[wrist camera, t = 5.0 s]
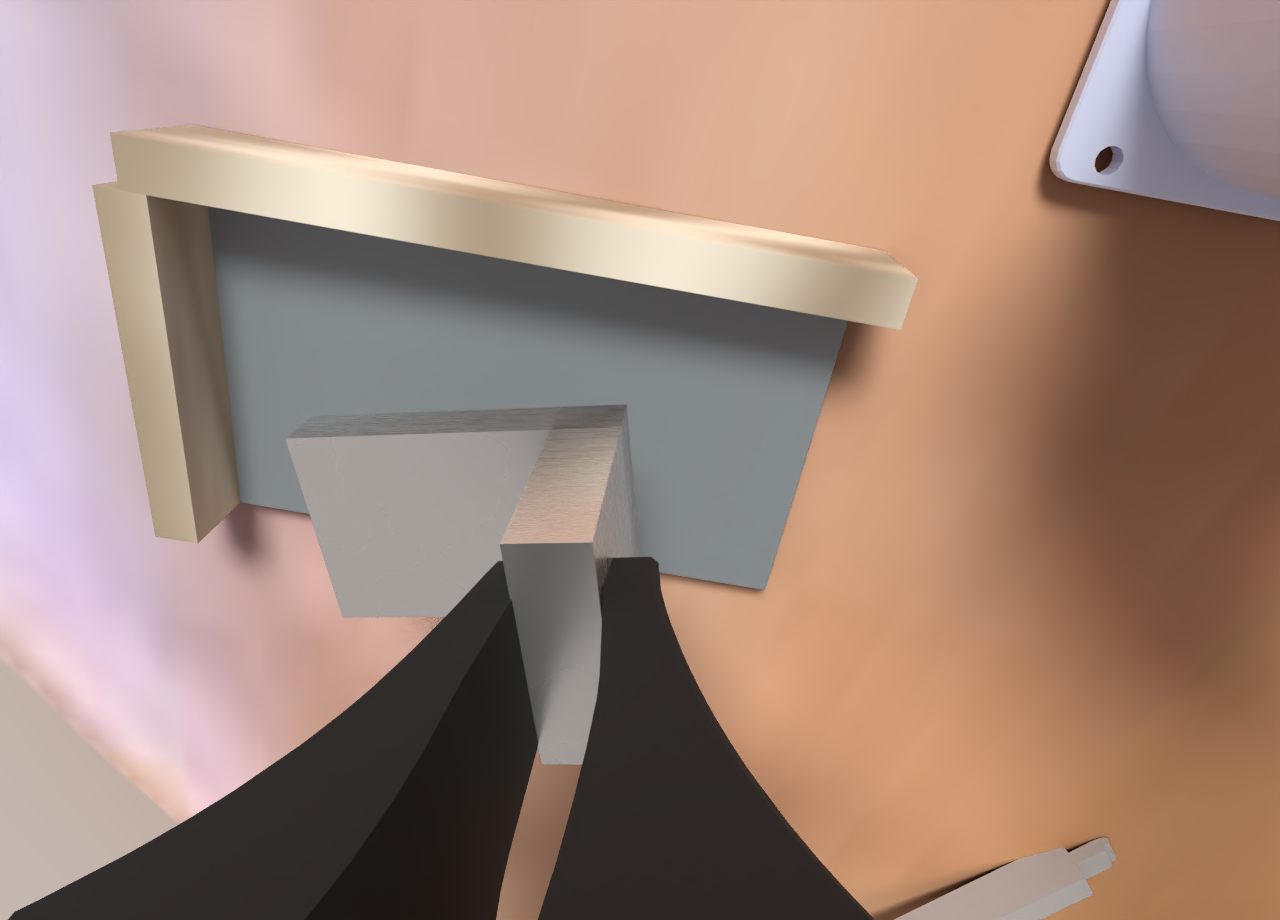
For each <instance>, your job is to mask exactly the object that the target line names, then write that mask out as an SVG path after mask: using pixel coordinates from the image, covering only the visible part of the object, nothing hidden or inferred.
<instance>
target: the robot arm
mask: <svg viewBox="0 0 1280 920" xmlns="http://www.w3.org/2000/svg"><path fill="white" fill-rule="evenodd" d="M1108 146H1109V147H1111V149H1112V152H1113V157H1112V161H1111V163H1110V164H1109V166H1108V167H1107V168H1106V169H1104V170H1103V171H1101V172H1097V171H1096V168H1095V166H1094V165H1095V159H1096V157H1097V156H1098V154H1099V153H1100V151H1102V150H1103V149H1105V148H1106V147H1108ZM1049 162H1050V167H1051V170H1052V172H1053V173H1054V174H1055V176H1056V177H1058V178H1060V179H1062V180H1065V181H1068V182H1072V183H1077V184H1083V185H1088V186H1093V187H1099V188H1104V189H1110V190H1115V191H1120V192H1126V193H1131V194H1136V195H1142V196H1147V197H1152V198H1158V199H1163V200H1169V201H1174V202H1179V203H1185V204H1190V205H1195V206H1201V207H1206V208H1212V209H1217V210H1222V211H1228V212H1233V213H1238V214H1244V215H1249V216H1255V217H1260V218H1265V219H1271V220H1276V221H1280V0H1111V2H1110V4H1109V7H1108V9H1107V12H1106V14H1105V17H1104V19H1103V22H1102V24H1101V27H1100V29H1099V32H1098V34H1097V37H1096V39H1095V42H1094V44H1093V47H1092V49H1091V52H1090V54H1089V57H1088V59H1087V62H1086V64H1085V67H1084V69H1083V72H1082V75H1081V77H1080V80H1079V82H1078V85H1077V87H1076V90H1075V92H1074V95H1073V97H1072V100H1071V102H1070V105H1069V107H1068V110H1067V112H1066V115H1065V117H1064V120H1063V122H1062V125H1061V127H1060V130H1059V132H1058V135H1057V137H1056V140H1055V142H1054V145H1053V147H1052V150H1051V154H1050V159H1049ZM537 747H538V739H537V733H536V728H535V723H534V717H533V712H532V706H531V701H530V696H529V690H528V685H527V679H526V674H525V669H524V663H523V658H522V652H521V647H520V641H519V636H518V631H517V625H516V620H515V614H514V609H513V604H512V599H510V596H509V591H508V586H507V580H506V575H505V570H504V564H503V561H498V562H497V563H496V564H495V565H494V566H493V567H492V568H491V569H490V570H489V571H488V572H487V573H486V574H485V575H484V576H483V577H482V578H481V579H480V580H479V581H478V582H477V583H476V584H475V586H474V587H473V588H472V589H471V590H470V591H469V592H468V593H467V594H466V595H465V596H464V597H463V598H462V600H461V601H460V602H459V603H458V604H457V605H456V606H455V607H454V608H453V609H452V610H451V611H450V612H449V613H448V614H447V616H446V617H445V618H444V619H443V620H442V621H441V622H440V623H439V624H438V625H437V626H436V627H435V628H434V629H433V630H432V631H431V632H430V633H429V634H428V635H427V636H426V637H425V638H424V639H423V640H422V641H421V642H420V643H419V644H418V645H417V646H416V647H415V648H414V649H413V650H412V651H411V652H410V653H409V654H408V655H407V656H406V657H405V658H404V659H402V660H401V661H400V662H399V663H398V664H397V665H396V666H395V667H394V668H393V669H392V670H391V671H390V672H389V673H387V674H386V675H385V676H384V677H383V678H382V679H381V680H380V681H379V682H378V683H377V684H376V685H375V686H373V687H372V688H371V689H370V690H369V691H368V692H367V693H365V694H364V695H363V696H362V697H361V698H360V699H358V700H357V701H356V702H355V703H354V704H352V705H351V706H350V707H349V708H348V709H346V710H345V711H344V712H343V713H341V714H340V715H339V716H338V717H336V718H335V719H334V720H332V721H331V722H330V723H329V724H327V725H326V726H325V727H324V728H322V729H321V730H320V731H318V732H317V733H316V734H315V735H313V736H312V737H311V738H309V739H308V740H307V741H305V742H304V743H303V744H301V745H300V746H299V747H297V748H296V749H294V750H293V751H291V752H290V753H288V754H287V755H285V756H284V757H283V758H281V759H280V760H278V761H277V762H275V763H274V764H272V765H271V766H269V767H268V768H267V769H265V770H264V771H262V772H261V773H259V774H258V775H256V776H255V777H253V778H252V779H251V780H249V781H248V782H246V783H245V784H243V785H242V786H240V787H239V788H237V789H236V790H234V791H233V792H231V793H230V794H228V795H227V796H225V797H223V798H222V799H220V800H219V801H217V802H215V803H214V804H212V805H210V806H209V807H207V808H206V809H204V810H202V811H201V812H199V813H198V814H196V815H194V816H193V817H191V818H189V819H188V820H186V821H184V822H183V823H181V824H179V825H177V826H176V827H174V828H172V829H170V830H169V831H167V832H165V833H164V834H162V835H160V836H159V837H157V838H155V839H153V840H152V841H150V842H148V843H146V844H145V845H143V846H141V847H139V848H137V849H136V850H134V851H132V852H130V853H128V854H127V855H125V856H123V857H121V858H119V859H117V860H115V861H113V862H112V863H109V864H108V865H106V866H104V867H102V868H100V869H98V870H96V871H94V872H92V873H90V874H88V875H87V876H85V877H83V878H81V879H79V880H77V881H75V882H73V883H71V884H69V885H67V886H65V887H63V888H61V889H59V890H57V891H55V892H54V893H52V894H50V895H48V896H46V897H44V898H42V899H40V900H38V901H36V902H34V903H32V904H30V905H28V906H26V907H24V908H22V909H20V910H18V911H15V912H14V913H13V914H12V916H11V917H10V918H9V919H8V920H496V915H497V909H498V903H499V897H500V891H501V886H502V882H503V878H504V873H505V869H506V864H507V860H508V855H509V852H510V848H511V844H512V841H513V837H514V833H515V829H516V826H517V822H518V818H519V814H520V811H521V807H522V803H523V800H524V796H525V792H526V788H527V785H528V781H529V777H530V773H531V770H532V766H533V762H534V758H535V755H536V751H537ZM538 920H874V919H873V918H872V917H871V915H870V914H869V913H868V912H867V911H866V910H865V909H864V908H863V907H862V906H861V905H860V904H859V903H858V902H857V901H856V900H855V899H854V898H853V897H852V896H851V895H850V893H849V892H848V891H847V890H846V889H845V888H844V887H843V886H842V885H841V884H840V883H839V882H838V880H837V879H836V878H835V877H834V876H833V875H832V874H831V873H830V872H829V870H828V869H827V868H826V867H825V866H824V865H823V864H822V863H821V862H820V860H819V859H818V858H817V857H816V856H815V855H814V853H813V852H812V851H811V850H810V849H809V847H808V846H807V845H806V844H805V843H804V841H803V840H802V839H801V838H800V837H799V835H798V834H797V833H796V832H795V831H794V829H793V828H792V827H791V826H790V825H789V823H788V822H787V821H786V820H785V818H784V817H783V816H782V814H781V813H780V811H779V810H778V809H777V807H776V806H775V805H774V803H773V802H772V801H771V799H770V798H769V797H768V795H767V794H766V793H765V791H764V790H763V789H762V787H761V786H760V785H759V783H758V782H757V781H756V779H755V778H754V777H753V775H752V774H751V773H750V771H749V770H748V768H747V767H746V766H745V764H744V762H743V761H742V759H741V758H740V756H739V755H738V753H737V752H736V750H735V749H734V747H733V746H732V744H731V743H730V741H729V740H728V738H727V736H726V735H725V733H724V731H723V730H722V728H721V726H720V725H719V723H718V721H717V720H716V718H715V716H714V715H713V713H712V711H711V709H710V707H709V706H708V704H707V702H706V700H705V698H704V696H703V694H702V693H701V691H700V689H699V687H698V685H697V683H696V681H695V679H694V677H693V675H692V673H691V670H690V668H689V666H688V664H687V662H686V660H685V657H684V655H683V653H682V651H681V648H680V646H679V643H678V641H677V638H676V635H675V633H674V630H673V628H672V625H671V623H670V620H669V617H668V614H667V611H666V607H665V604H664V600H663V597H662V593H661V588H660V574H659V563H658V562H657V561H656V560H655V559H653V558H652V557H621V558H613V560H612V562H611V565H610V567H609V569H608V572H607V575H606V578H605V581H604V588H603V608H602V630H601V653H600V675H599V684H598V692H597V699H596V704H595V709H594V714H593V718H592V723H591V728H590V733H589V737H588V742H587V747H586V751H585V755H584V759H583V763H582V768H581V772H580V776H579V780H578V784H577V788H576V793H575V797H574V801H573V804H572V808H571V811H570V815H569V819H568V822H567V826H566V829H565V833H564V837H563V840H562V844H561V847H560V851H559V855H558V858H557V862H556V865H555V868H554V871H553V874H552V877H551V880H550V884H549V887H548V890H547V893H546V896H545V899H544V902H543V905H542V908H541V912H540V915H539V918H538Z"/></svg>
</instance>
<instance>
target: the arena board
mask: <svg viewBox="0 0 1280 920" xmlns="http://www.w3.org/2000/svg"><path fill="white" fill-rule="evenodd" d="M208 212H209V221H210V230H211V239H212V248H213V257H214V266H215V275H216V284H217V293H218V302H219V311H220V320H221V329H222V339H223V348H224V357H225V366H226V375H227V384H228V393H229V402H230V411H231V420H232V429H233V438H234V447H235V456H236V465H237V474H238V483H239V492H240V501H241V503H247V504H253V505H259V506H265V507H271V508H277V509H283V510H289V511H295V512H301V513H307V514H309V511H308V508H307V505H306V501H305V498H304V495H303V492H302V489H301V486H300V483H299V480H298V477H297V474H296V470H295V467H294V464H293V461H292V458H291V455H290V452H289V449H288V446H287V442H286V439H285V438H286V437H288V436H289V435H290V434H291V433H292V432H294V431H295V430H296V429H297V428H298V427H300V426H301V425H302V424H303V423H304V422H306V421H307V420H308V419H309V418H310V417H312V416H324V415H351V414H379V413H406V412H433V411H461V410H488V409H515V408H543V407H570V406H598V405H625V404H627V415H628V426H629V438H630V449H631V461H632V472H633V484H634V495H635V507H636V518H637V530H638V541H639V553H640V557H652V558H653V559H655V560H656V561H657V562H658V563H659V572H660V573H665V574H671V575H677V576H683V577H689V578H695V579H701V580H707V581H713V582H719V583H725V584H731V585H737V586H743V587H749V588H755V589H761V590H765V588H766V585H767V582H768V579H769V575H770V572H771V569H772V566H773V562H774V559H775V556H776V553H777V550H778V546H779V543H780V540H781V537H782V533H783V530H784V527H785V524H786V520H787V517H788V514H789V511H790V508H791V504H792V501H793V498H794V495H795V491H796V488H797V485H798V482H799V478H800V475H801V472H802V469H803V465H804V462H805V459H806V456H807V453H808V449H809V446H810V443H811V440H812V436H813V433H814V430H815V427H816V423H817V420H818V417H819V414H820V411H821V407H822V404H823V401H824V398H825V394H826V391H827V388H828V385H829V381H830V378H831V375H832V372H833V368H834V365H835V362H836V359H837V356H838V352H839V349H840V346H841V343H842V339H843V336H844V333H845V330H846V326H847V323H848V321H847V320H842V319H836V318H831V317H825V316H819V315H814V314H808V313H803V312H797V311H792V310H786V309H780V308H775V307H769V306H764V305H758V304H752V303H747V302H741V301H736V300H730V299H724V298H719V297H713V296H708V295H702V294H696V293H691V292H685V291H680V290H674V289H669V288H663V287H657V286H652V285H646V284H641V283H635V282H629V281H624V280H618V279H613V278H607V277H601V276H596V275H590V274H585V273H579V272H573V271H568V270H562V269H557V268H551V267H545V266H540V265H534V264H529V263H523V262H518V261H512V260H506V259H501V258H495V257H490V256H484V255H478V254H473V253H467V252H462V251H456V250H450V249H445V248H439V247H434V246H428V245H422V244H417V243H411V242H406V241H400V240H394V239H389V238H383V237H378V236H372V235H367V234H361V233H355V232H350V231H344V230H339V229H333V228H327V227H322V226H316V225H311V224H305V223H299V222H294V221H288V220H283V219H277V218H271V217H266V216H260V215H255V214H249V213H244V212H238V211H232V210H227V209H221V208H216V207H210V206H208Z"/></svg>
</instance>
